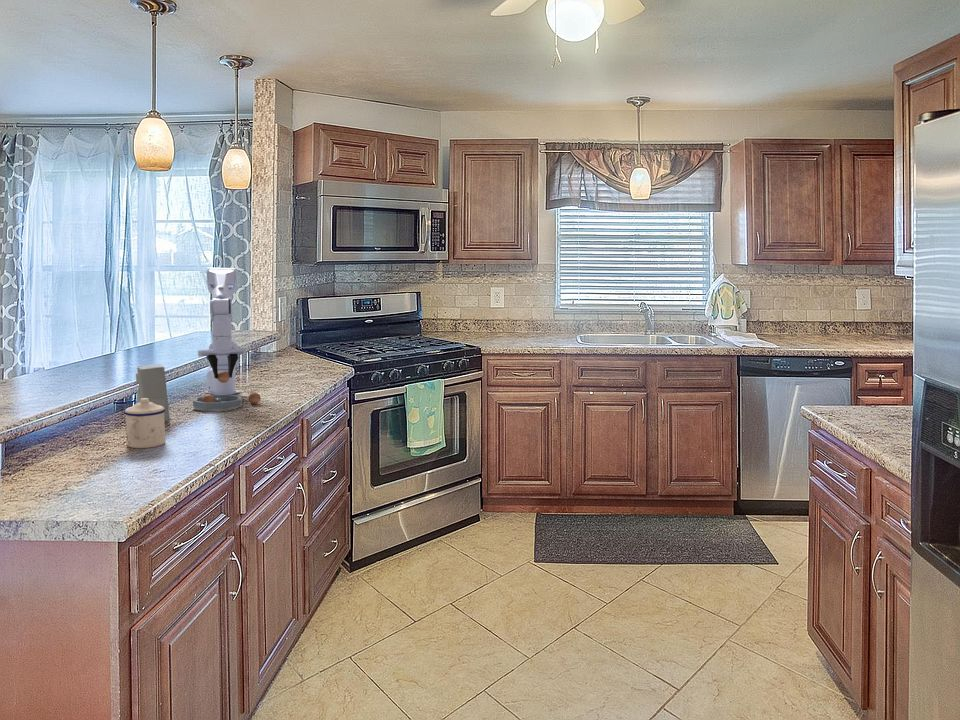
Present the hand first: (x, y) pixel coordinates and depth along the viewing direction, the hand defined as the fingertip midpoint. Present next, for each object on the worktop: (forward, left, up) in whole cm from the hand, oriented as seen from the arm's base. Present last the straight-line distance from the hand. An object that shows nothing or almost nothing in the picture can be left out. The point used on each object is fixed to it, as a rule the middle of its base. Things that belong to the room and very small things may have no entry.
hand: (223, 377), depth 220 cm
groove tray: (+3, -4, -9) cm, 10 cm away
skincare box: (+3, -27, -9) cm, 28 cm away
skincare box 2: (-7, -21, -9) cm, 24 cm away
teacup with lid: (+25, -46, -9) cm, 53 cm away
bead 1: (0, 0, 0) cm, 1 cm away
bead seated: (+3, -8, -6) cm, 10 cm away
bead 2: (+9, +5, -7) cm, 12 cm away
